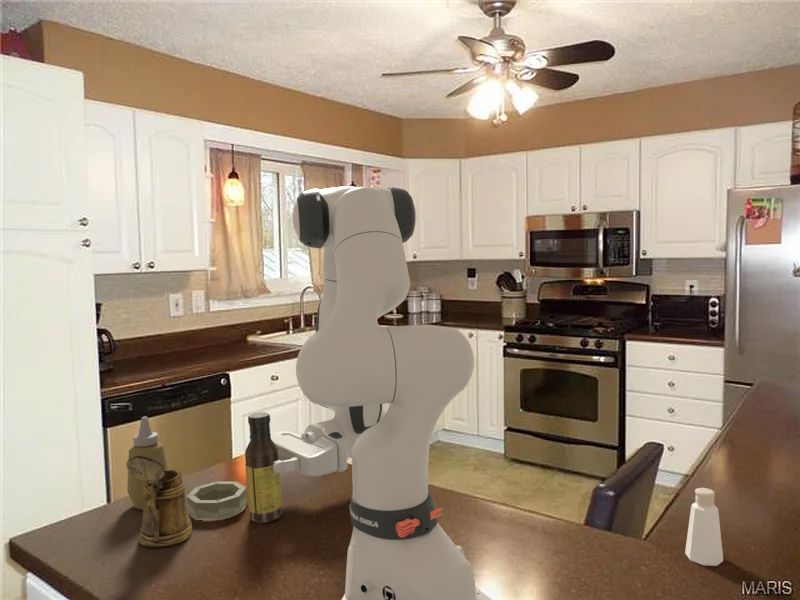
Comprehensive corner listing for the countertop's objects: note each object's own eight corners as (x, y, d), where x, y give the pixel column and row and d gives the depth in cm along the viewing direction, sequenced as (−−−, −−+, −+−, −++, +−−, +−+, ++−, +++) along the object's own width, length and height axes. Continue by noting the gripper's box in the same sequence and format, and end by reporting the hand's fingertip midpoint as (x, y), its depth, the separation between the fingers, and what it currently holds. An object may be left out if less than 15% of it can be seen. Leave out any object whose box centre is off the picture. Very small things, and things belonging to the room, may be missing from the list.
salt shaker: (703, 569, 91) (704, 499, 91) (677, 552, 97) (678, 486, 96) (731, 563, 93) (732, 494, 92) (704, 546, 98) (705, 481, 97)
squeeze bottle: (178, 496, 125) (173, 411, 123) (159, 513, 117) (153, 423, 115) (141, 495, 125) (136, 411, 124) (120, 512, 117) (113, 423, 116)
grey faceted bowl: (255, 508, 117) (255, 491, 117) (202, 526, 110) (201, 508, 110) (231, 493, 125) (230, 477, 125) (180, 508, 118) (179, 491, 118)
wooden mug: (116, 562, 98) (109, 456, 97) (153, 525, 112) (147, 431, 110) (170, 562, 98) (163, 455, 96) (200, 524, 111) (195, 430, 110)
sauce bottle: (289, 512, 115) (284, 411, 114) (269, 526, 110) (264, 420, 108) (261, 508, 118) (256, 409, 116) (241, 521, 112) (235, 417, 110)
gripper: (294, 419, 129) (234, 433, 120) (350, 440, 114) (287, 458, 105) (295, 448, 130) (235, 464, 120) (351, 472, 114) (288, 493, 105)
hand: (260, 461), depth 112 cm, fingers open, 8 cm apart
